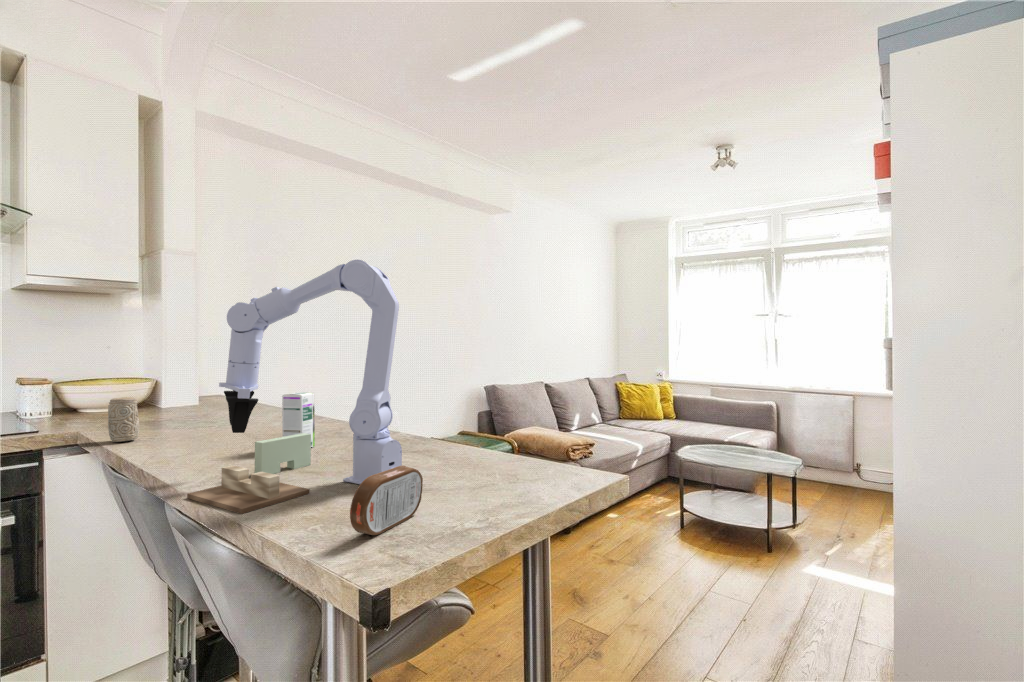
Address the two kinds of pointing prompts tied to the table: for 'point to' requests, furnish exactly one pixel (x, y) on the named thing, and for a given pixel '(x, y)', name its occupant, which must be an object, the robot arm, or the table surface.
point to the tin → (386, 500)
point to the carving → (123, 419)
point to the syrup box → (298, 414)
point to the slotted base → (244, 498)
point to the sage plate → (283, 453)
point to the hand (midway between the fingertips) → (237, 428)
